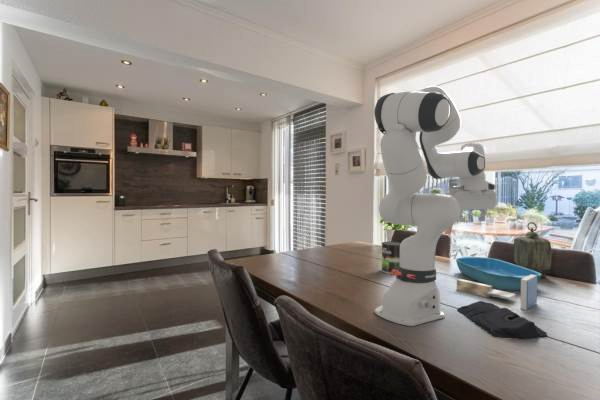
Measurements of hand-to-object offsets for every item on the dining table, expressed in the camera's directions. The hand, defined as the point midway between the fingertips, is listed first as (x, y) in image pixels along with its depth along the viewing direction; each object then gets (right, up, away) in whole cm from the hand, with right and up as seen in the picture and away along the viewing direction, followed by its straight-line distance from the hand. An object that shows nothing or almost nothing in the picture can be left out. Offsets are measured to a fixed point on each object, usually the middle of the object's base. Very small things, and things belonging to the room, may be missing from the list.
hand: (471, 221), depth 120 cm
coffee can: (-21, -27, +33) cm, 48 cm away
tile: (+12, -28, -14) cm, 34 cm away
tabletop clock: (+42, -27, +26) cm, 56 cm away
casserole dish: (+20, -28, +17) cm, 38 cm away
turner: (+3, -28, -3) cm, 28 cm away
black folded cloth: (-7, -29, -27) cm, 40 cm away
